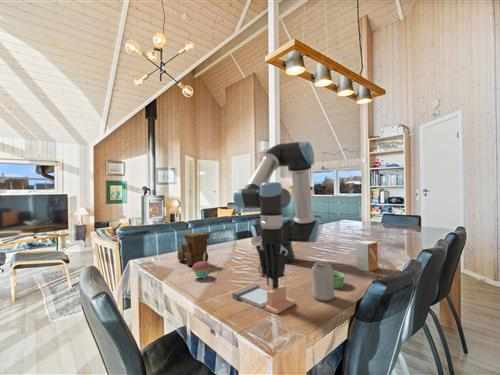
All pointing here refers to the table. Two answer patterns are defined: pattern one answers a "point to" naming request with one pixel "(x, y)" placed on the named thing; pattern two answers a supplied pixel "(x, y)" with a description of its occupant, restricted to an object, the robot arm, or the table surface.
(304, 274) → the table surface
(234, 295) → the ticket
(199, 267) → the cupcake
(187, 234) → the wooden toy train
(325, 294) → the can
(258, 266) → the mug
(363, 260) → the small box
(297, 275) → the table surface
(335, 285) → the ramekin
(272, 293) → the stub
